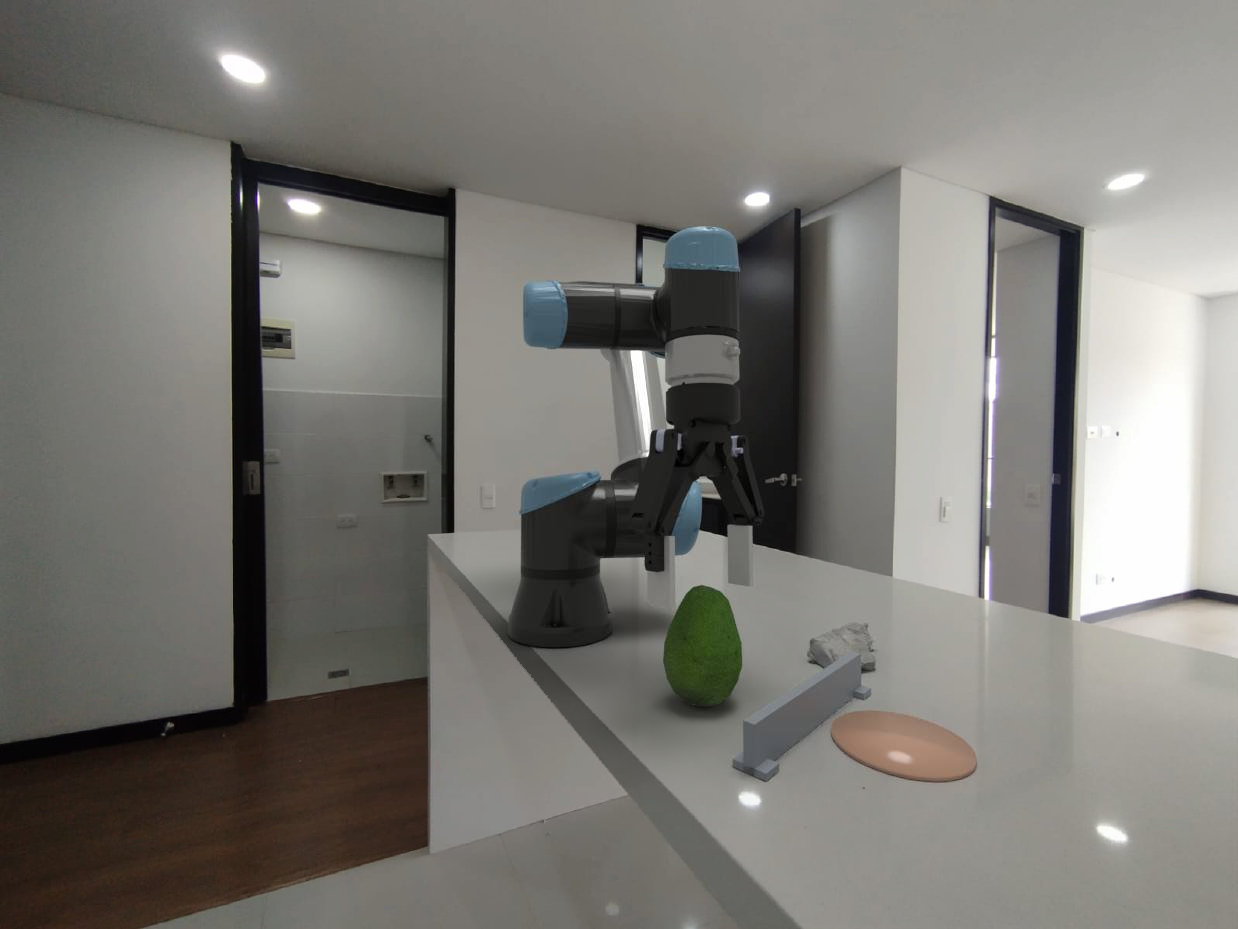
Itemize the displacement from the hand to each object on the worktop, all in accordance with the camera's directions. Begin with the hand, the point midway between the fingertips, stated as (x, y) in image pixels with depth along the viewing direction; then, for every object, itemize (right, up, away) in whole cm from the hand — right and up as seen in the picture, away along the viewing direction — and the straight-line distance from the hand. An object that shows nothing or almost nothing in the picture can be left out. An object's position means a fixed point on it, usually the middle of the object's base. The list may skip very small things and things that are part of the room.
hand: (704, 594), depth 54 cm
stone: (+20, -12, +12) cm, 26 cm away
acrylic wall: (+9, -11, -5) cm, 15 cm away
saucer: (+16, -11, -8) cm, 21 cm away
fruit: (0, -11, 0) cm, 11 cm away
